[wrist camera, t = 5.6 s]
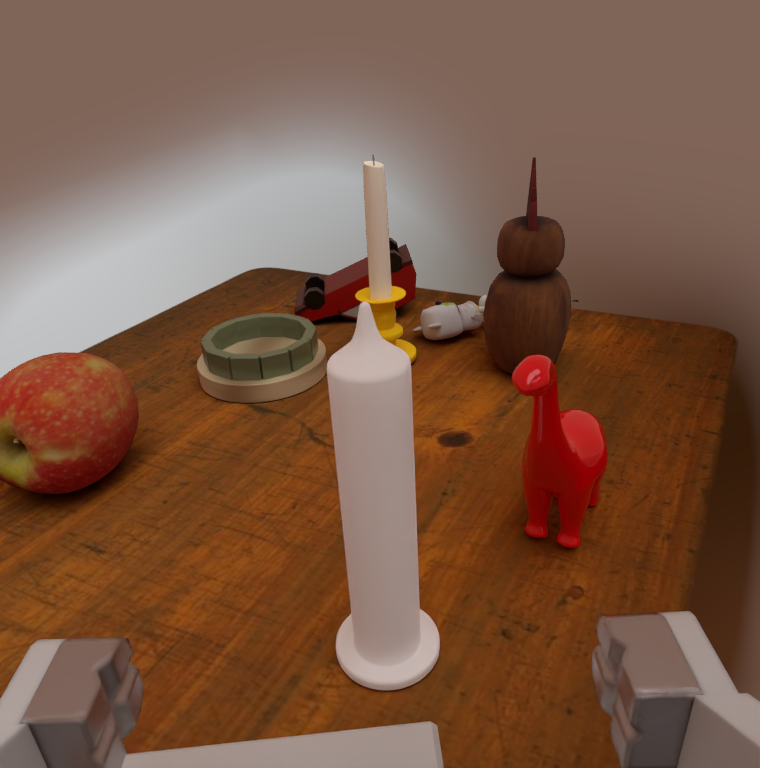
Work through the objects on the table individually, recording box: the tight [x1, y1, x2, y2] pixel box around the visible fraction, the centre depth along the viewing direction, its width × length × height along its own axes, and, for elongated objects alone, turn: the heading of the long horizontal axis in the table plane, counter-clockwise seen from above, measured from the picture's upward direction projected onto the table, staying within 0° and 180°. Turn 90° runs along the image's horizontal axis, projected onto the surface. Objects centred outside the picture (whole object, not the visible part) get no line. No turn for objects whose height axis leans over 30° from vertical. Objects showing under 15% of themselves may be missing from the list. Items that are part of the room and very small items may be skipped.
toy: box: [413, 295, 578, 340], centre depth 57 cm, size 7×3×15 cm
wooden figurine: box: [484, 158, 571, 374], centre depth 47 cm, size 7×6×15 cm
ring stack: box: [197, 313, 327, 403], centre depth 52 cm, size 10×10×3 cm
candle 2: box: [327, 302, 440, 690], centre depth 25 cm, size 4×4×16 cm
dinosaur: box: [512, 354, 607, 548], centre depth 32 cm, size 4×15×12 cm, turn 150°
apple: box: [0, 353, 139, 494], centre depth 39 cm, size 8×8×8 cm
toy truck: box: [295, 238, 416, 322], centre depth 61 cm, size 6×12×5 cm, turn 94°
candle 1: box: [355, 155, 417, 363], centre depth 50 cm, size 5×5×16 cm
